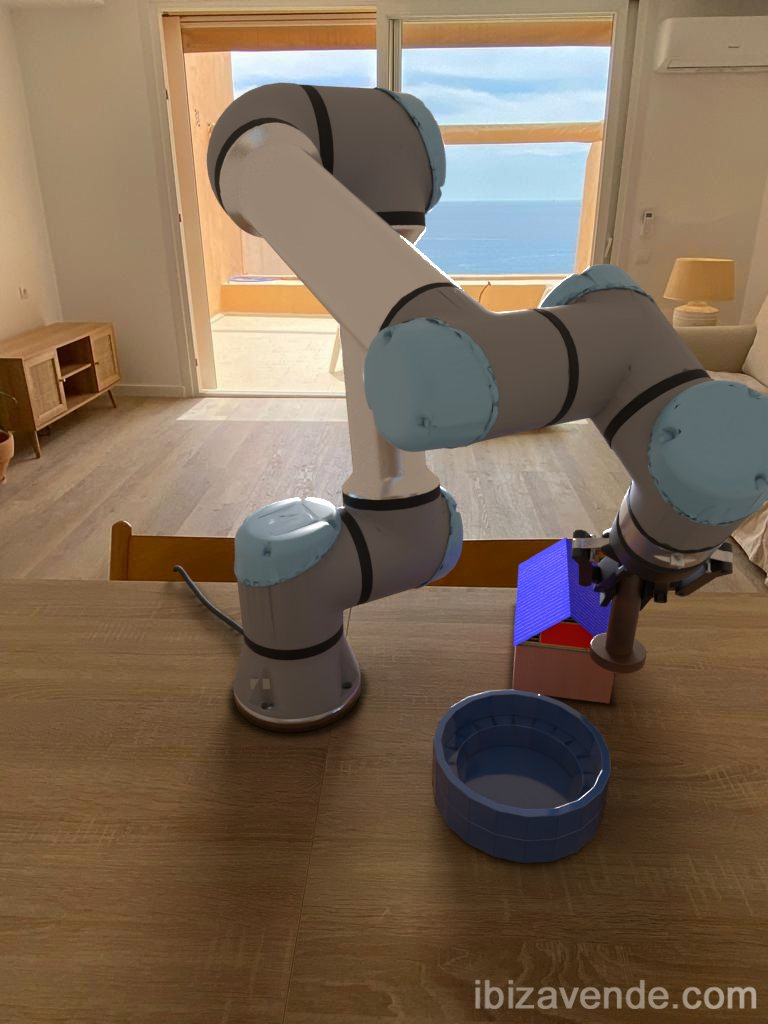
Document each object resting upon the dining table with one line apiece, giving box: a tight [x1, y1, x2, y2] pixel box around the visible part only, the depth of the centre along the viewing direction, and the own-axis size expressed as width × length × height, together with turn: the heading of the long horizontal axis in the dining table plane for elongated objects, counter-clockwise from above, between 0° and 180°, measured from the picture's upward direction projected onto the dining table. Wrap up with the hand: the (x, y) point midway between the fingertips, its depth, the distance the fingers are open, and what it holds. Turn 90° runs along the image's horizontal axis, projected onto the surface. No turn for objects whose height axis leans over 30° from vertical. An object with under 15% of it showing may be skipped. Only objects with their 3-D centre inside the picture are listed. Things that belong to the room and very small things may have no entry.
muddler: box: [589, 574, 647, 674], centre depth 70 cm, size 6×6×15 cm
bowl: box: [431, 689, 612, 864], centre depth 68 cm, size 17×17×6 cm
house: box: [511, 536, 615, 704], centre depth 89 cm, size 12×20×12 cm, turn 168°
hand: (620, 596), depth 75 cm, fingers closed on muddler, 3 cm apart
